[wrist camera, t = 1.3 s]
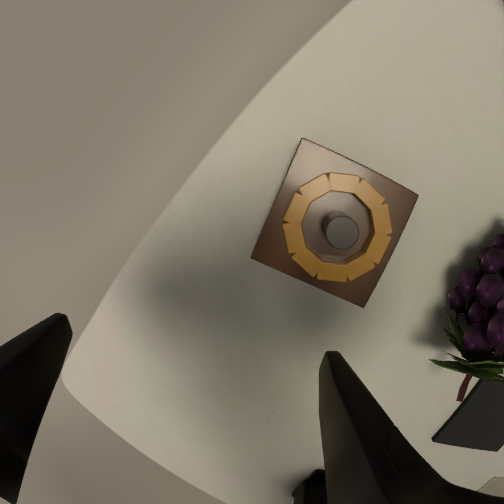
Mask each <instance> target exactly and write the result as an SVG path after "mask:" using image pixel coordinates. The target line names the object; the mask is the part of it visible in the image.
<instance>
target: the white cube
mask: <svg viewBox="0 0 504 504" xmlns="http://www.w3.org/2000/svg"><path fill="white" fill-rule="evenodd" d="M477 492H481V493H485V494H489V495H493V496H498V497H504V478H499V477H493V478H492V479H491V480H490V481H489V482H488V483H486V484H485V485H484V486H483V487H482V488H481V489H479V490H478V491H477Z"/></svg>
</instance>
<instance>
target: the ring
mask: <svg viewBox="0 0 504 504" xmlns="http://www.w3.org/2000/svg"><path fill="white" fill-rule="evenodd" d="M298 189H299V191H300V193H299V192H297V191H295V192H294V195H293V197H292V199H291V202H290V204H289V206H288V208H287V211H286V213H285V215H284V218H283V220H284V221H285V222H283V225H282V226H283V230H284V235H285V239H286V244H287V249H288V253H289V254H292V256H291V258H292V259H293V260H294V261H295V262H296V263H297V264H298V265H300V266H301V267H302V268H303V269H304V270H305V271H306V272H307V273H309V274H310V275H311V276H312V277H314V276H315V275H316V276H317V279H319V280H328V281H337V282H346V280H347V277H348V279H349V281H352V280H354V279H355V278H357V277H359V276H361V275H363V274H364V273H366V272H368V271H370V270H372V269H373V268H375V264H374V262H375V263H377V264H379V263H380V261H381V259H382V257H383V255H384V253H385V251H386V248H387V246H388V244H389V242H390V240H391V238H392V237H391V236H389V235H388V234H391V233H392V227H391V220H390V214H389V208H388V203H385V202H384V201H385V198H384V197H383V196H382V195H381V194H380V193H379V192H378V191H377V190H376V189H375V188H374V187H373V186H372V185H371V184H370V183H369V182H368V181H367V180H366V179H365V178H360V176H358V175H351V174H344V173H336V172H328V174H327V175H326V173H323V174H321V175H319V176H317V177H316V178H314V179H312V180H310V181H309V182H307V183H305V184H304V185H302V186H300V187H299V188H298ZM330 191H336V192H343V193H351V194H353V195H354V196H355V197H356V198H357V199H358V200H359V201H360V202H361V203H362V204H363V205H364V206H365V207H366V208H367V209H368V214H369V220H370V225H371V232H370V234H369V236H368V239H367V241H366V243H365V245H364V247H363V249H362V251H360V252H358V253H356V254H354V255H353V256H351V257H349V258H347V259H345V260H344V261H342V260H333V259H324V258H321V257H320V256H319V255H318V254H317V253H316V252H314V251H313V250H312V249H311V248H310V247H309V246H308V245H307V244H306V242H305V237H304V232H303V227H302V221H303V219H304V217H305V215H306V213H307V210H308V208H309V206H310V204H311V202H313V201H315V200H316V199H318V198H320V197H322V196H323V195H325V194H327V193H329V192H330Z"/></svg>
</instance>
